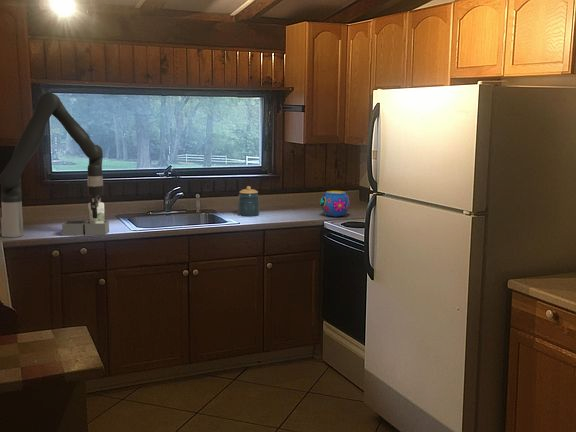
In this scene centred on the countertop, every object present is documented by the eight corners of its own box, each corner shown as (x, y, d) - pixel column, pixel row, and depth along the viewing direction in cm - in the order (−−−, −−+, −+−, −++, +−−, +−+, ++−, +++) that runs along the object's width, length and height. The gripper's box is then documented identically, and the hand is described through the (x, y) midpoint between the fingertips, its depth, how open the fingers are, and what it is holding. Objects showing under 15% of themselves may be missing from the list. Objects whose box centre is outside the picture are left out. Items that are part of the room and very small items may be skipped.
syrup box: (98, 229, 335) (97, 201, 333) (105, 230, 331) (104, 202, 329) (88, 230, 331) (87, 202, 328) (95, 232, 327) (94, 203, 325)
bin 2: (85, 235, 326) (84, 223, 325) (89, 231, 336) (88, 220, 335) (105, 235, 327) (105, 223, 326) (109, 231, 337) (108, 220, 336)
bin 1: (62, 235, 325) (62, 223, 324) (67, 232, 335) (66, 220, 334) (83, 235, 326) (82, 223, 325) (87, 231, 336) (86, 220, 335)
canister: (233, 215, 395) (233, 186, 392) (248, 212, 405) (248, 184, 402) (248, 217, 387) (248, 187, 384) (263, 214, 396) (263, 186, 394)
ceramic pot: (322, 213, 404) (322, 189, 401) (350, 214, 401) (351, 190, 398) (318, 218, 386) (319, 193, 384) (348, 219, 384) (349, 193, 381)
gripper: (90, 183, 334) (91, 214, 336) (84, 186, 320) (86, 219, 322) (105, 183, 335) (106, 214, 337) (100, 186, 321) (101, 219, 323)
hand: (96, 216), depth 330 cm, fingers closed on syrup box, 8 cm apart
